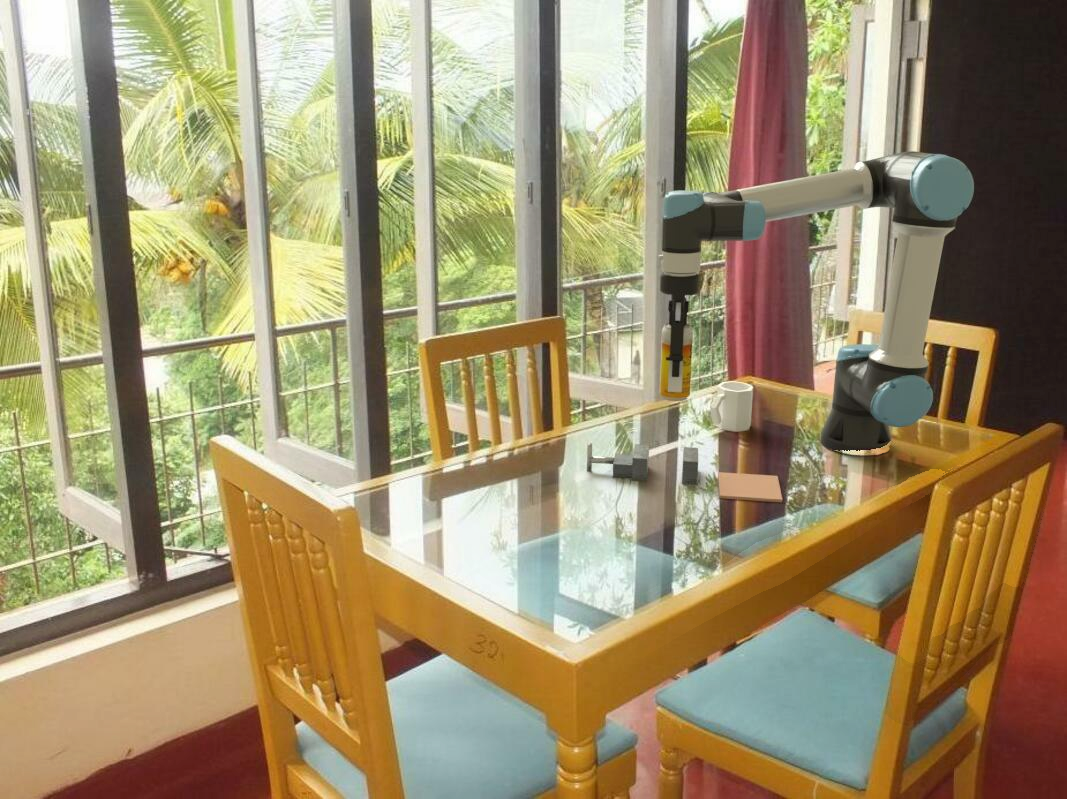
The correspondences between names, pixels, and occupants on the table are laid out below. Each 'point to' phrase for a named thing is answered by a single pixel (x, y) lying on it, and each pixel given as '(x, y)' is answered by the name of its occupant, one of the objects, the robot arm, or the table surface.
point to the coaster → (749, 487)
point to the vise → (644, 464)
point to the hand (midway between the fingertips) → (675, 386)
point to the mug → (732, 406)
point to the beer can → (686, 364)
